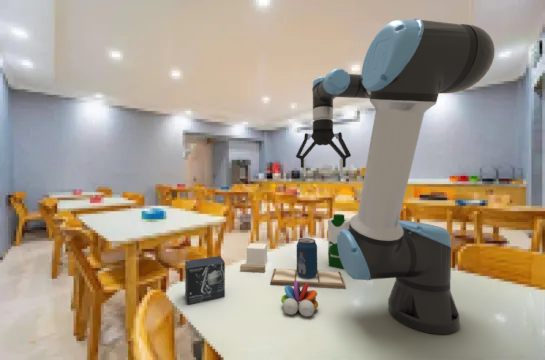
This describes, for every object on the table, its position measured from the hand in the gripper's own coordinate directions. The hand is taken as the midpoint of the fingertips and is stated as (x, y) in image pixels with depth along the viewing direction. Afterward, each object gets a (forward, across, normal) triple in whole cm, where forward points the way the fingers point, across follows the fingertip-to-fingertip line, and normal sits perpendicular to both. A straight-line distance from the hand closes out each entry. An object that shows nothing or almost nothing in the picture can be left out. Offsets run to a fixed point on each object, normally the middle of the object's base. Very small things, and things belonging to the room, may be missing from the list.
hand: (322, 176), depth 93 cm
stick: (+35, +26, +7) cm, 44 cm away
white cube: (+31, +26, +2) cm, 41 cm away
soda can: (+34, +6, +12) cm, 36 cm away
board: (+35, +6, +12) cm, 37 cm away
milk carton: (+35, -7, -3) cm, 36 cm away
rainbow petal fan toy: (+35, +8, +30) cm, 47 cm away
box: (+35, +36, +27) cm, 57 cm away
